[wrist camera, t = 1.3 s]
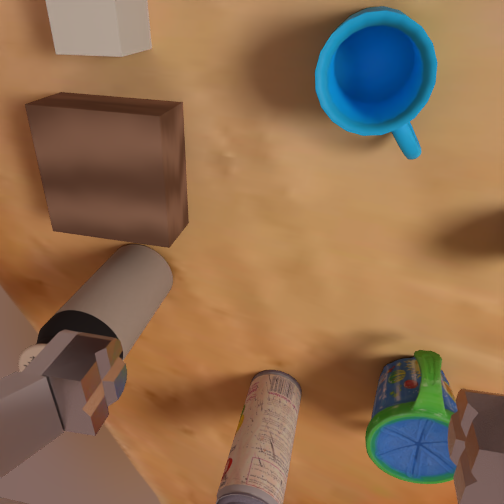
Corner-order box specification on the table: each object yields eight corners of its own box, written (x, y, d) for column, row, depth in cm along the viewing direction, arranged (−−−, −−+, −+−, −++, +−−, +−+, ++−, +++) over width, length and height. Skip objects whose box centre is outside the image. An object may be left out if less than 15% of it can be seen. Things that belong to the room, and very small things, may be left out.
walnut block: (62, 91, 46) (24, 104, 41) (183, 101, 44) (159, 116, 39) (83, 207, 52) (53, 231, 47) (189, 221, 50) (169, 247, 45)
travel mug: (104, 243, 54) (0, 342, 39) (165, 242, 52) (80, 346, 37) (122, 297, 58) (34, 407, 43) (180, 299, 56) (108, 414, 40)
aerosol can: (247, 368, 59) (197, 520, 42) (298, 371, 57) (268, 530, 40) (255, 405, 62) (212, 560, 45) (304, 409, 60) (278, 571, 44)
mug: (307, 43, 38) (293, 55, 32) (399, -17, 35) (406, -19, 28) (369, 163, 42) (369, 197, 35) (458, 119, 39) (477, 148, 32)
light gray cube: (81, -28, 40) (39, -31, 35) (144, -28, 39) (110, -31, 33) (93, 46, 43) (55, 54, 38) (152, 48, 42) (121, 56, 36)
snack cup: (383, 317, 50) (386, 384, 42) (481, 338, 49) (505, 413, 40) (353, 410, 58) (350, 482, 50) (436, 431, 57) (448, 509, 48)
